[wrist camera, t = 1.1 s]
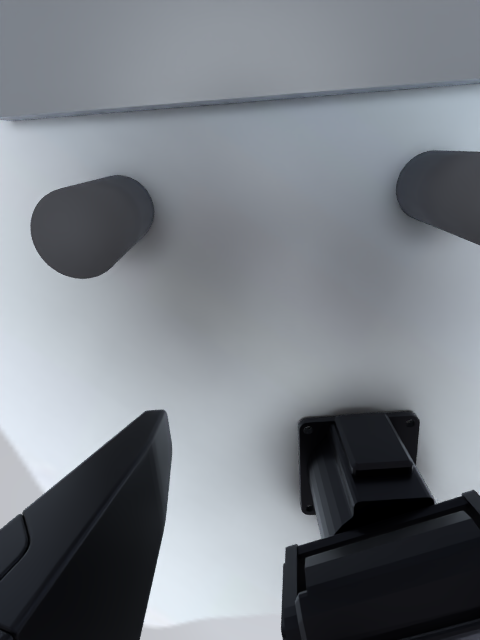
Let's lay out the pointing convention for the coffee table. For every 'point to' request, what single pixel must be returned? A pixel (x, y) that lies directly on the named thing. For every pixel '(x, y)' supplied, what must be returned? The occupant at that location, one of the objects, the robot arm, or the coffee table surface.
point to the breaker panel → (224, 51)
